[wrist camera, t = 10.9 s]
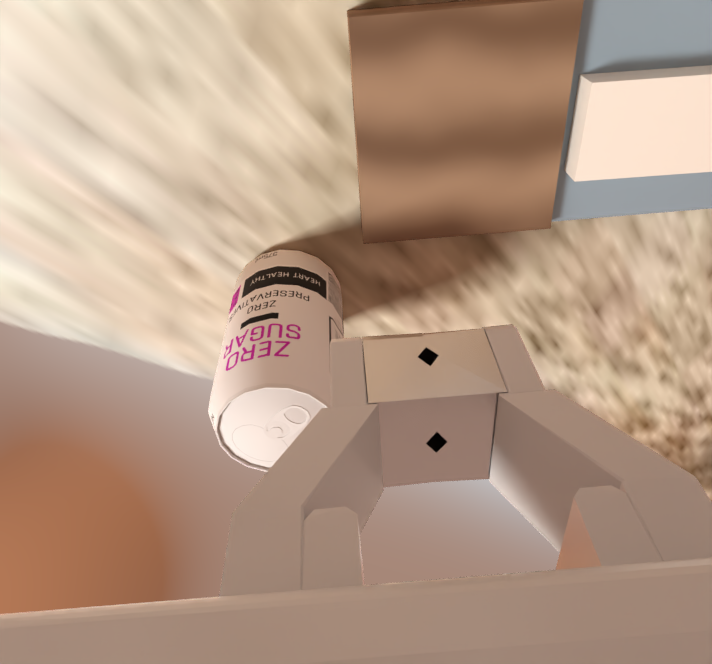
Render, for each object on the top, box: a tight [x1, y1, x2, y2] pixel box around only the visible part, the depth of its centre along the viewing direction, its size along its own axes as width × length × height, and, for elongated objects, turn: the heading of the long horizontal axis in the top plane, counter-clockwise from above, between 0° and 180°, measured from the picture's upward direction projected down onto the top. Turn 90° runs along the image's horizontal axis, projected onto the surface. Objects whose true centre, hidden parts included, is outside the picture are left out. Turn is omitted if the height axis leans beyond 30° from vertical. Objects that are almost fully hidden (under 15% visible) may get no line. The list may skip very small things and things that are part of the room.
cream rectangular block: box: [564, 65, 712, 182], centre depth 36 cm, size 6×9×2 cm, turn 93°
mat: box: [552, 0, 712, 221], centre depth 37 cm, size 14×16×2 cm
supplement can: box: [208, 250, 344, 472], centre depth 39 cm, size 8×8×15 cm
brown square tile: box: [347, 0, 584, 244], centre depth 37 cm, size 14×13×2 cm
